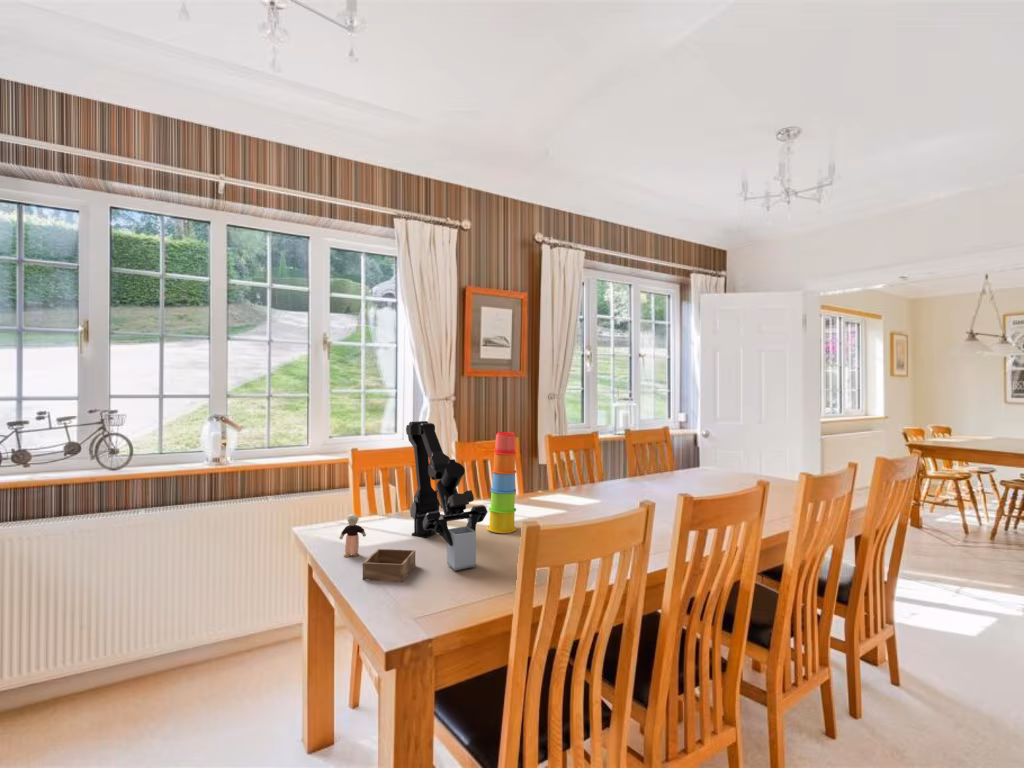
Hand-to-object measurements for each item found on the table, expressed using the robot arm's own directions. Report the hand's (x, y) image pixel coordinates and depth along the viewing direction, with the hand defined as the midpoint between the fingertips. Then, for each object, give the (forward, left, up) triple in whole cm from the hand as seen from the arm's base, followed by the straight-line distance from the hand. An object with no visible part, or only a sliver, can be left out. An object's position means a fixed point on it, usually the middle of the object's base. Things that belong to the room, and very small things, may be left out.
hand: (463, 543), depth 145 cm
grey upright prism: (-1, +1, -7) cm, 7 cm away
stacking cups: (-6, +37, -7) cm, 38 cm away
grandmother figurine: (-36, -5, -7) cm, 37 cm away
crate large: (-17, -11, -7) cm, 22 cm away
